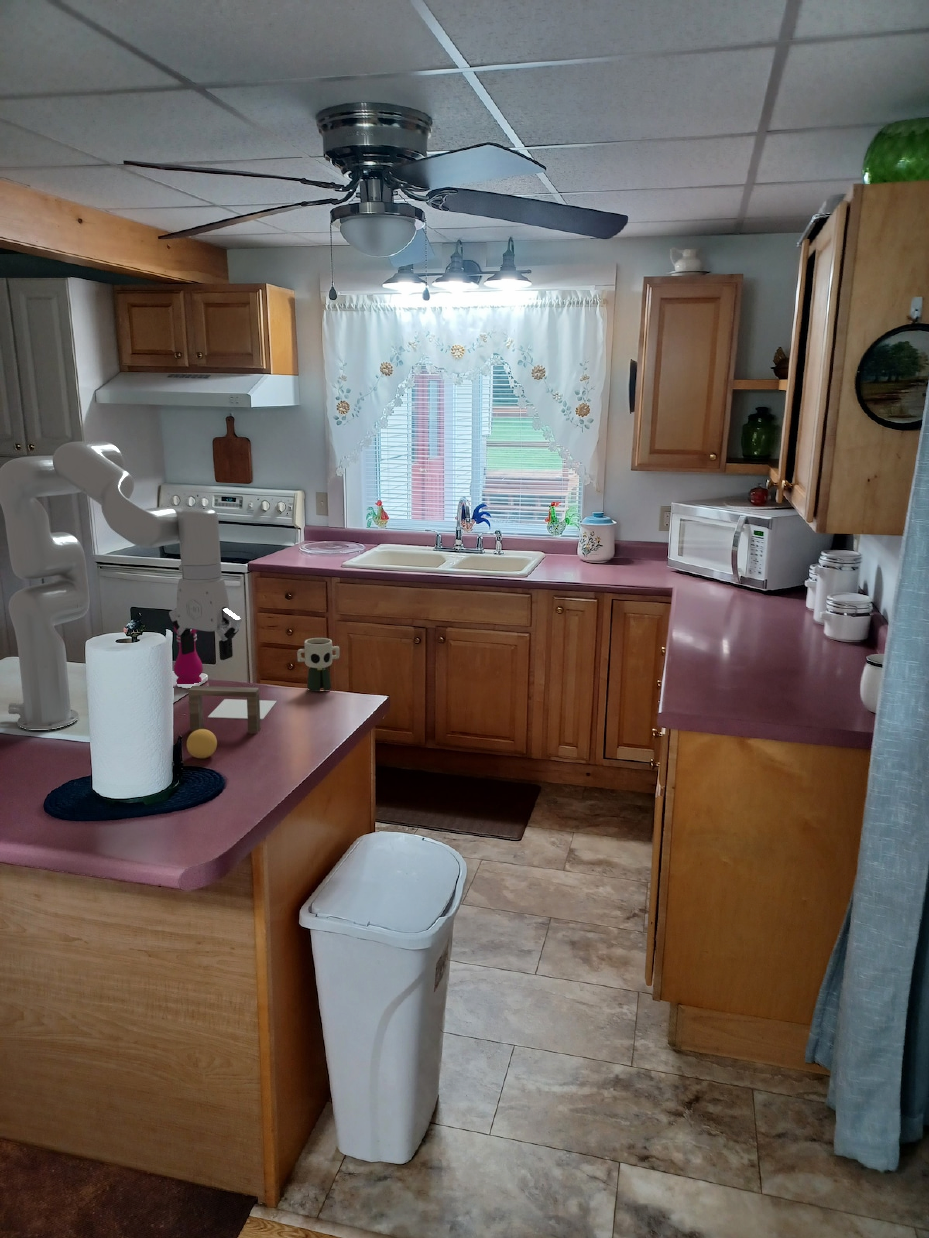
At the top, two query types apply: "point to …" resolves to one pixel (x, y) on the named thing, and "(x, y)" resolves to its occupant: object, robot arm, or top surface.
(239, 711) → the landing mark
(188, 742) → the ball
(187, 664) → the pepper mill
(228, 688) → the bridge
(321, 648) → the character mug
